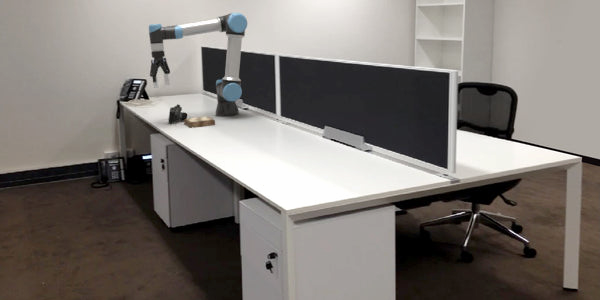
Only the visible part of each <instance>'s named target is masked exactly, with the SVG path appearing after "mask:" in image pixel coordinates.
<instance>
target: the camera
mask: <svg viewBox="0 0 600 300" xmlns="http://www.w3.org/2000/svg"><path fill="white" fill-rule="evenodd" d="M182 110H183V109H182V106H181V104H176V105H175V106H173V107H170V108H169V113H168V114H169V115H168V122H167V123H168V124H171V125H174V124H176V123H177V122H178V121H182V122H184V119H188V113H187V112H184V111H183V112H182Z"/></svg>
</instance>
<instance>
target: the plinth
mask: <svg viewBox="0 0 600 300" xmlns="http://www.w3.org/2000/svg"><path fill="white" fill-rule="evenodd" d="M183 123H184V125H185V126H187V127H188V128H189V129H190V128H191V129H193V128H199V127H201V128H202V127H209V126H215V125H216V119H214V118H212V117H210V116H200V117H199V116H198V117H190V118H187V119H184V121H183ZM192 127H193V128H192Z"/></svg>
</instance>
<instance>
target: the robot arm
mask: <svg viewBox="0 0 600 300" xmlns="http://www.w3.org/2000/svg"><path fill="white" fill-rule="evenodd" d="M247 27H248V20H247V18H246V16H245V15H243V14H242V13H239V12H231V13H227V14H224V15H222V16H221V15H220V16H217V17H216V18H215V19H207V20H201V21H193V22H188V23H183V24H182V23H181V24H176V25H167V26H162V24H161V23H155V24H149V25H148V34H149V42H150V50H151V58H153V59H151V60H150V64H151V65H150V72H149V76H150V78H151V79H152V85H153V88H154V89H158V88H159V80H158V76H157V74H158V72H159V71H158V70H159V68H161V70H162V71H163V73H164V74H163V78H164V79H163V80H164V85H165V86H166V85H168V86H169V85H170V77H169V74H171V70H170V67H169V64H168V61H167V58H166V57H165V56H166V55H165V54H166V53H165V47H164V41H166V40H179V39H181V40H182V39H183V38H184V37H188V36H195V35H202V34H207V33H214V32H219V33H225V36H226V37H227V46H226V59H225V70H224V71H225V72H224V73H225V74H224V77H222V79H217V80H216V82H215V88H216V98H217V99H216V100H217V101H216V102H217V104H216V108H215V116H218V117H230V116H231V117H232V116H236V115H239V114H240V110H239V107H238V105H237V102H236V101H238V100H239V99H240V98H241V97H242V94H243V90H242V87H241V83H242V80H241V79H240V65H241V55H242V43H243V42H242V40H243V39H244V37H245V35H246V29H247Z"/></svg>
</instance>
